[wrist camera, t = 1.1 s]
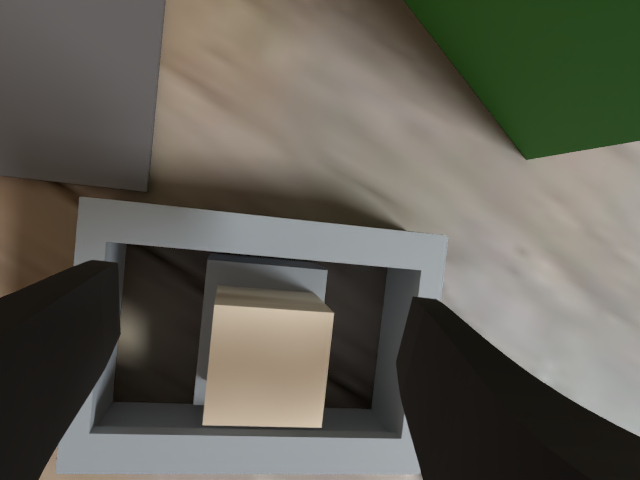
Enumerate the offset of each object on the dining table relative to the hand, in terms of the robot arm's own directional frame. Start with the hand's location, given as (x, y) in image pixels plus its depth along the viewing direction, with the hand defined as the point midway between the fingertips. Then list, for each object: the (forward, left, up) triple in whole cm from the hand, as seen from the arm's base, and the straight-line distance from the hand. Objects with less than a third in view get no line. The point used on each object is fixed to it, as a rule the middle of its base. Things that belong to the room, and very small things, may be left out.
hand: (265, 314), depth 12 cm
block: (-3, -1, -8) cm, 8 cm away
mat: (+7, +9, -11) cm, 16 cm away
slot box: (-3, -1, -11) cm, 11 cm away
